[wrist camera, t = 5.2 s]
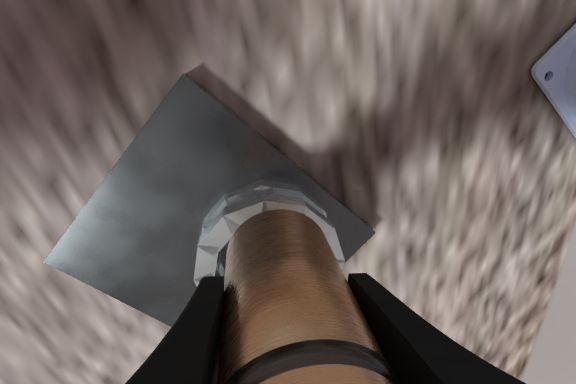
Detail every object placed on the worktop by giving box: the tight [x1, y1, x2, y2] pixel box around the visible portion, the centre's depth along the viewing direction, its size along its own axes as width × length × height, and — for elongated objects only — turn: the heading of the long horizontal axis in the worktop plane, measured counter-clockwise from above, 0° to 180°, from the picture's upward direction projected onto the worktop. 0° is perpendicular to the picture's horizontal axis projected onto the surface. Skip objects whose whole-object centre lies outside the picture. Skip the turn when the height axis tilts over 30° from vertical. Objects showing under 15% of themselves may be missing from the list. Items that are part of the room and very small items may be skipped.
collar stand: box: [44, 73, 375, 327], centre depth 18 cm, size 14×13×4 cm
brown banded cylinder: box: [217, 209, 401, 384], centre depth 9 cm, size 4×4×9 cm
